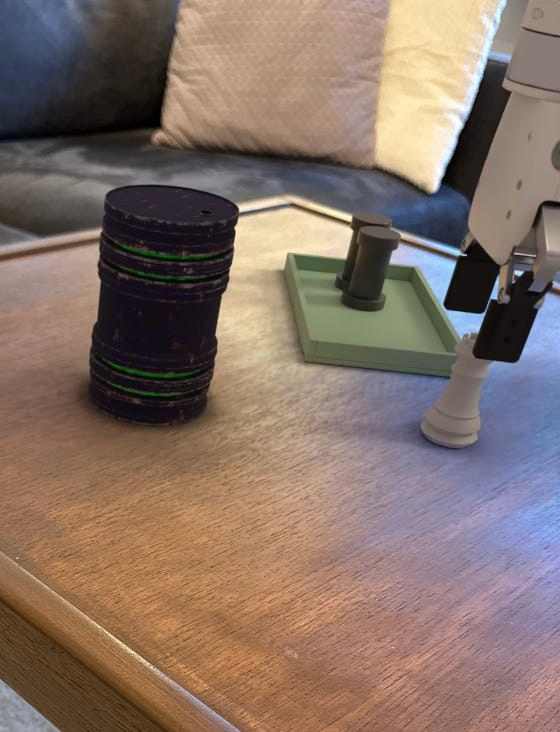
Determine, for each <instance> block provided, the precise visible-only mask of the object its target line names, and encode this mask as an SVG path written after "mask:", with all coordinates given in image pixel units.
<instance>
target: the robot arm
mask: <svg viewBox="0 0 560 732" xmlns="http://www.w3.org/2000/svg"><path fill="white" fill-rule="evenodd" d="M501 87H502V88H504V90H506V91H508V92H511V93H510V96H509V97H508V101H507V103H506V106H505V108H504V111H503V113H502V115H501V119H500V121H499V124H498V126H497V128H496V132H495V134H494V137H493V140H492V142H491V145H490V148H489V151H488V153H487V156H486V159H485V162H484V165H483V167H482V170H481V171H482V172H481V173H480V177H479V179H478V182H477V185H476V189H475V192H474V196H473V199H472V201H471V206H470V209H469V214H468V219H467V223H468V224H467V225H468V231H467V233H466V235H465V236H464V238H463V240H462V241H461V244H460V249H459V250H460V254H458V256H457V259H456V263H455V265H454V268H453V273H452V275H451V278H450V281H449V284H448V287H447V290H446V293H445V296H444V299H443V303H442V304H443V306H442V307H443V308H444V309H445V310H446V311H451V312H457V313H466V314H473V315H483V314H484V316H483V319H482V322H481V324H480V327H479V331H478V332H477V333H478V336H477V338H476V341H475V344H474V347H473V350H472V354H473V355H474V357H475V358H476V359H483V360H491V361H493V362H498V363H509V364H517V362H519V361H520V359H521V356H522V354H523V351H524V349H525V347H526V344H527V341H528V339H529V336H530V333H531V331H532V328H533V325H534V323H535V321H536V318H537V315H538V313H539V310H540V309H541V308H543V305H544V303H545V301H546V296H547V293H549V292H550V290H551V289H552V288H553V286H554V279H555V277H556V275H557V273H560V0H528V3H527V6H526V10H525V13H524V15H523V18H522V22H521V27H520V28H519V31H518V35H517V37H516V41H515V44H514V47H513V50H512V53H511V56H510V60H509V63H508V66H507V69H506V71H505V76H504V78H503V82H502V85H501ZM515 272H522V273H521V274H520V275H519V276H518V277H517V279H516V280H515V281H514V279H515ZM498 276H499V277H498ZM497 279H498V287H497V295H496V298H491V297H492V293H493V291H494V288H495V286H496V282H497Z"/></svg>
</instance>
